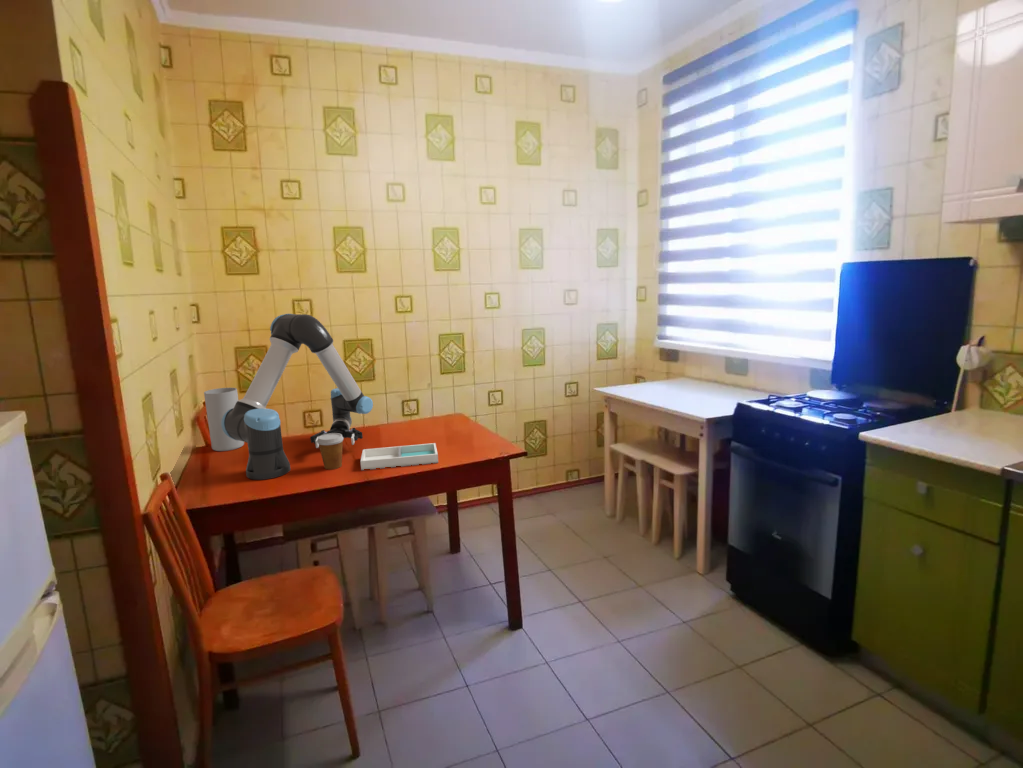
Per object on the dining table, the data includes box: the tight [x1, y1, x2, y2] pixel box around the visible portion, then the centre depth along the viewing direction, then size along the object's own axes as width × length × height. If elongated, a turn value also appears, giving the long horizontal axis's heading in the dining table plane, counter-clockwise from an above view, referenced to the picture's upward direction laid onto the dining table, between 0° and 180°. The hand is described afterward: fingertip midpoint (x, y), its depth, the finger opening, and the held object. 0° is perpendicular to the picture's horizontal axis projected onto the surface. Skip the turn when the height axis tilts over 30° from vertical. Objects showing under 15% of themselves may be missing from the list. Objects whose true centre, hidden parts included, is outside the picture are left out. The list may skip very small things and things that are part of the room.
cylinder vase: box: [203, 387, 245, 452], centre depth 239 cm, size 12×12×25 cm
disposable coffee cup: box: [317, 433, 345, 470], centre depth 210 cm, size 10×10×12 cm
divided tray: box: [359, 442, 439, 471], centre depth 216 cm, size 28×15×4 cm, turn 101°
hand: (334, 443), depth 219 cm, fingers open, 13 cm apart
